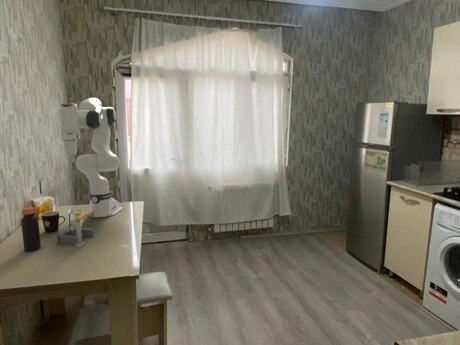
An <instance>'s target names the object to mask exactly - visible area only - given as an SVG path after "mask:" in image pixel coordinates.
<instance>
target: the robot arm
mask: <svg viewBox="0 0 460 345" xmlns="http://www.w3.org/2000/svg"><path fill="white" fill-rule="evenodd" d="M59 121H60V124H61V125H60V126H61V127H60V134H61V135H60V137H61V139H62V140H63V141H64V147H65V152H66V155H67V156H69V158H70V162H71V163H75V166H76V168H77V170H78V171H80V172H82V174H84V175H85V176H86V178H87V180H88V183H89V188H90V193H89V199H90V200H89V208H88V209H89V211H90V210H94V211H95V217H94V218H105V217H111V216H116V215H117V214H118V213H119V212H120V211H122V210H123V207H122V206H119V202H118V200H116V199H115V198H113V197H112V195H114V191H110V182H109V180H108V178H106V177H105V176H102V175H100V174H99V172H113V171H117V170H118V169H119V168H120V164H121V161H120V158H119V157H118V155H116V154H115V153H113V151H112V150H111V146H110V145H111V129H110V127H112V126H113V125H114V124H115V122H116V121H117V111H116V110H115V108H114V107H112V106H111V107H110V106H107V107H105V106H103V104H102V102H101V100H100V99H98V98H96V97H88V98H85V99H83V101H81V102H80V104H79V106H78V105H77V103H73V102H66V103H62V104H60V106H59ZM81 129H92V130H93V132H92V138H91V144H90V147H91V148H90V149H92V151H94V152H95V153H88V154H82V155H78V157H76V153H77V152H78V142H79V140H80V139H81V138H82V136H81ZM88 217H90V215H88Z"/></svg>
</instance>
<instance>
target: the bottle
mask: <svg viewBox="0 0 460 345" xmlns="http://www.w3.org/2000/svg"><path fill="white" fill-rule="evenodd" d="M21 211H22V216H23V217H22V218H21V219H20V222H21V233H22V241H23V242H22V243H23V251H24V252H27V253H28V252H29V253H30V252H31V253H32V252H36V251H38V250H40V249H41V248H42V244H41V236H40V225H39V224H40V223H39V218H38V216H36V209H35V207H33V206H29V207H23V208H22V210H21Z"/></svg>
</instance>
